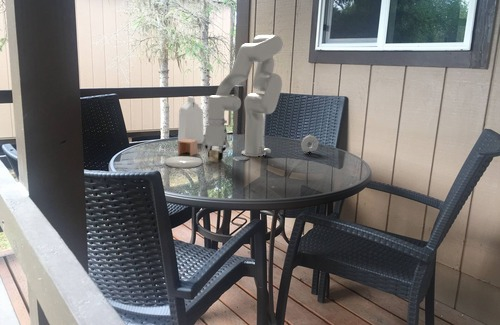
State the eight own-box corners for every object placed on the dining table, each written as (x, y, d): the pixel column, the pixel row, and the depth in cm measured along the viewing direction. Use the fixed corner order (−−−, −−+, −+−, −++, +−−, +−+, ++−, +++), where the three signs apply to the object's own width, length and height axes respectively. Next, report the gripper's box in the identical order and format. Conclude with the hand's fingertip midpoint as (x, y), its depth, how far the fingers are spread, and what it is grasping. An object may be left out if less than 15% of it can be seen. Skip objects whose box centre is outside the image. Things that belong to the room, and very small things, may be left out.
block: (221, 160, 203) (221, 150, 202) (217, 162, 199) (217, 151, 198) (213, 159, 204) (213, 149, 203) (209, 161, 200) (209, 150, 199)
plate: (208, 161, 200) (208, 158, 199) (191, 169, 184) (191, 166, 184) (176, 157, 205) (176, 154, 205) (158, 164, 189) (158, 162, 189)
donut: (315, 152, 229) (316, 134, 227) (318, 153, 226) (320, 135, 224) (299, 153, 226) (300, 134, 223) (302, 154, 222) (303, 136, 220)
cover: (197, 153, 215) (197, 140, 213) (191, 156, 208) (191, 142, 207) (184, 151, 217) (184, 138, 215) (178, 154, 210) (178, 141, 209)
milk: (177, 140, 246) (177, 95, 240) (196, 139, 251) (196, 95, 245) (184, 144, 236) (185, 98, 229) (203, 143, 241) (204, 97, 235)
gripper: (235, 122, 198) (234, 160, 202) (203, 119, 203) (202, 156, 208) (229, 124, 191) (228, 163, 196) (196, 121, 196) (196, 159, 201)
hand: (215, 159), depth 201 cm, fingers closed on block, 4 cm apart
